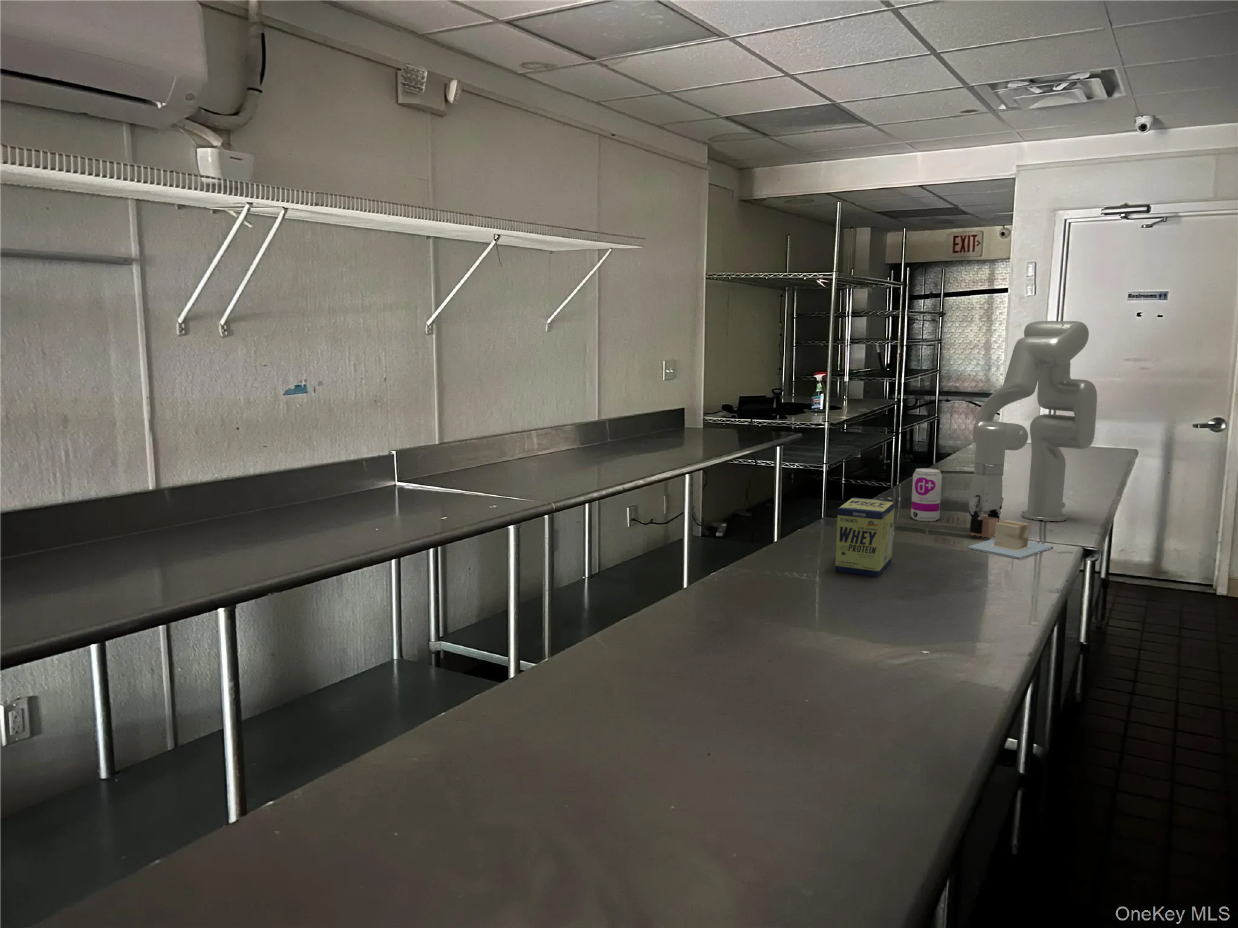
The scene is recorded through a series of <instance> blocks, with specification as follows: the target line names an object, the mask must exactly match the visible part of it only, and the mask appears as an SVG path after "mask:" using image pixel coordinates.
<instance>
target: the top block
mask: <svg viewBox="0 0 1238 928" xmlns="http://www.w3.org/2000/svg"><path fill="white" fill-rule="evenodd" d="M981 520H983V524H982V533H981V534H977V533H971V532H970V535H971V536H974V535H978V536H977V537H979V536H982V537H981V538H984V537H988V538H987V539H990V538H989V537H991V538H994V537H993V536H994V535H995V525H996V523H998V520H999V521H1000V518H993V517H988V515H983V516H982V518H981Z"/></svg>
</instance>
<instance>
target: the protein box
mask: <svg viewBox="0 0 1238 928" xmlns="http://www.w3.org/2000/svg"><path fill="white" fill-rule="evenodd" d="M895 504H896V501H892V500H891V501H890V500H884V499H883V500H882V499H874V498H873V499H871V498H863V497H852V498H850V499H849V500H847V501H846V502H845V503H843V504H842V505H841V506H839V507H837V517H836V518H837V521H836V522H837V523H836V524H837V525H836V541H835V543H836V544H835V545H836V546H835V564H834V565H835V568H834V570H835V572H840V573H847V574H854V575H861V576H868V577H875V578H879V577H880V576H881V575H882V574H883V573H884V571H885V570H886V569H887V568H888V566H890V564H892V555H893V542H894V541H893V538H894V523H895V521H894V520H895Z"/></svg>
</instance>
